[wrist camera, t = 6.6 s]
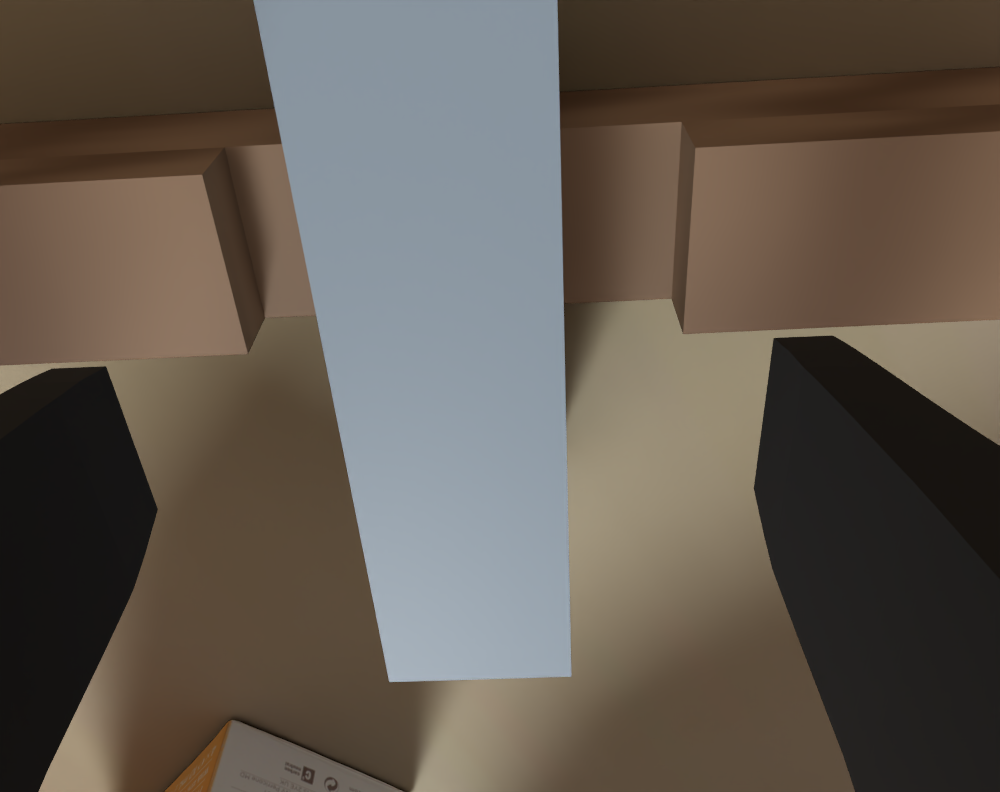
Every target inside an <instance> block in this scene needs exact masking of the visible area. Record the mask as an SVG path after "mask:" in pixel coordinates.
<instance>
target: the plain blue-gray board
mask: <svg viewBox="0 0 1000 792" xmlns="http://www.w3.org/2000/svg"><path fill="white" fill-rule="evenodd" d="M253 1H254V6H255V11H256V16H257V21H258V26H259V31H260V36H261V41H262V46H263V51H264V56H265V61H266V66H267V71H268V76H269V81H270V86H271V91H272V96H273V101H274V106H275V111H276V116H277V121H278V126H279V131H280V136H281V141H282V146H283V151H284V156H285V162H286V167H287V172H288V177H289V182H290V187H291V192H292V197H293V202H294V207H295V212H296V217H297V222H298V227H299V232H300V237H301V242H302V247H303V252H304V257H305V262H306V267H307V272H308V277H309V282H310V287H311V292H312V297H313V302H314V307H315V312H316V317H317V322H318V327H319V332H320V337H321V342H322V347H323V352H324V357H325V362H326V367H327V372H328V377H329V382H330V387H331V392H332V397H333V402H334V407H335V412H336V417H337V422H338V427H339V432H340V437H341V442H342V447H343V452H344V457H345V462H346V467H347V472H348V477H349V483H350V488H351V493H352V498H353V503H354V508H355V513H356V518H357V523H358V528H359V533H360V538H361V543H362V548H363V553H364V558H365V563H366V568H367V573H368V578H369V583H370V588H371V593H372V598H373V603H374V608H375V613H376V618H377V623H378V628H379V633H380V638H381V643H382V648H383V653H384V658H385V663H386V668H387V673H388V678H389V682H410V681H443V680H475V679H508V678H541V677H571V635H570V586H569V538H568V489H567V441H566V392H565V344H564V295H563V247H562V199H561V150H560V102H559V53H558V5H557V0H253Z"/></svg>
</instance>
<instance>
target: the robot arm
mask: <svg viewBox="0 0 1000 792" xmlns="http://www.w3.org/2000/svg"><path fill="white" fill-rule="evenodd" d="M754 491H755V496H756V500H757V505H758V509H759V514H760V519H761V523H762V528H763V532H764V536H765V540H766V545H767V549H768V553H769V557H770V561H771V565H772V569H773V572H774V574H775V577H776V580H777V583H778V585H779V588H780V591H781V593H782V596H783V599H784V601H785V604H786V607H787V609H788V612H789V615H790V617H791V620H792V623H793V625H794V628H795V631H796V633H797V636H798V639H799V641H800V644H801V646H802V649H803V652H804V654H805V657H806V659H807V662H808V665H809V667H810V670H811V672H812V675H813V678H814V680H815V683H816V685H817V688H818V691H819V693H820V696H821V699H822V701H823V704H824V706H825V709H826V712H827V714H828V717H829V719H830V722H831V725H832V727H833V730H834V732H835V735H836V738H837V740H838V743H839V745H840V748H841V751H842V753H843V756H844V759H845V762H846V765H847V768H848V771H849V774H850V777H851V780H852V783H853V786H854V789H855V792H1000V446H999V445H997V444H996V443H994V442H993V441H991V440H990V439H988V438H986V437H985V436H983V435H982V434H980V433H979V432H977V431H976V430H974V429H973V428H971V427H970V426H968V425H967V424H965V423H964V422H962V421H961V420H959V419H958V418H956V417H954V416H953V415H951V414H950V413H948V412H947V411H945V410H944V409H943V408H941V407H940V406H938V405H937V404H935V403H934V402H932V401H931V400H929V399H928V398H926V397H925V396H923V395H922V394H920V393H919V392H918V391H916V390H915V389H913V388H912V387H910V386H909V385H907V384H906V383H904V382H903V381H902V380H900V379H899V378H897V377H896V376H894V375H893V374H891V373H890V372H888V371H887V370H886V369H884V368H883V367H881V366H880V365H878V364H877V363H875V362H874V361H872V360H871V359H869V358H868V357H866V356H865V355H863V354H862V353H860V352H859V351H857V350H856V349H854V348H853V347H851V346H850V345H848V344H846V343H845V342H843V341H841V340H839V339H838V338H836V337H834V336H812V337H789V338H774V340H773V348H772V355H771V363H770V371H769V378H768V386H767V393H766V401H765V408H764V416H763V424H762V431H761V439H760V446H759V454H758V461H757V469H756V477H755V484H754ZM157 510H158V509H157V506H156V503H155V501H154V498H153V495H152V492H151V490H150V487H149V484H148V481H147V478H146V476H145V473H144V470H143V467H142V465H141V462H140V459H139V456H138V454H137V451H136V448H135V445H134V443H133V440H132V437H131V434H130V431H129V429H128V426H127V423H126V420H125V418H124V415H123V412H122V409H121V407H120V404H119V401H118V398H117V396H116V393H115V390H114V387H113V384H112V382H111V379H110V376H109V373H108V371H107V368H106V367H83V368H59V369H50V370H48V371H46V372H44V373H41V374H39V375H37V376H35V377H32V378H30V379H28V380H26V381H24V382H22V383H20V384H19V385H17V386H15V387H13V388H11V389H9V390H7V391H6V392H4V393H2V394H0V792H38V791H39V789H40V787H41V784H42V782H43V780H44V777H45V775H46V773H47V770H48V768H49V766H50V764H51V762H52V760H53V758H54V756H55V754H56V752H57V750H58V748H59V745H60V743H61V741H62V739H63V737H64V735H65V733H66V731H67V729H68V727H69V725H70V723H71V720H72V718H73V716H74V714H75V712H76V710H77V708H78V706H79V704H80V702H81V700H82V698H83V695H84V693H85V691H86V689H87V687H88V685H89V683H90V681H91V679H92V677H93V675H94V673H95V670H96V668H97V666H98V664H99V662H100V660H101V658H102V656H103V654H104V652H105V650H106V647H107V645H108V643H109V641H110V639H111V637H112V635H113V632H114V630H115V628H116V626H117V624H118V622H119V620H120V617H121V615H122V613H123V611H124V609H125V607H126V604H127V602H128V600H129V598H130V596H131V593H132V591H133V589H134V586H135V583H136V580H137V577H138V574H139V571H140V568H141V565H142V562H143V559H144V556H145V552H146V549H147V545H148V542H149V538H150V535H151V531H152V528H153V524H154V521H155V517H156V514H157Z"/></svg>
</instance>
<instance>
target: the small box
mask: <svg viewBox="0 0 1000 792" xmlns="http://www.w3.org/2000/svg"><path fill="white" fill-rule="evenodd" d="M164 792H404V791H401V790H399V789H397V788H394V787H393V786H391V785H388V784H386V783H384V782H382V781H379V780H377V779H374V778H372V777H370V776H367V775H365V774H363V773H361V772H359V771H356V770H354V769H352V768H349V767H347V766H344V765H342V764H340V763H337V762H335V761H332V760H330V759H328V758H325V757H323V756H321V755H319V754H317V753H314V752H312V751H310V750H307V749H305V748H303V747H300V746H298V745H295V744H293V743H291V742H288V741H286V740H283V739H280V738H278V737H275V736H273V735H271V734H268V733H266V732H264V731H261V730H259V729H256V728H254V727H251V726H248V725H246V724H244V723H242V722H239V721H235V720H230V721H229V722H227V723H226V725H225V726H224V727H223V728H222V730H221V731H220V732H219V733H218V735H217V736H216V737H215V738H214V739H213V741H212V742H211V743H210V744H209V745H208V746H207V747H206V748H205V749H204V750H203V751H202V753H201V754H200V755H199V756H198V757H197V758H196V759H195V760H194V761H193V762H192V763H191V764H190V765H189V766H188V768H187V769H186V770H185V771H184V772H183V773H182V774H181V775H180V776H179V777H178V778H177V779H176V780H175V781H174V782H173V783H172V784H171V785H170V786H169V787H168V788H167V789H166V790H165V791H164Z"/></svg>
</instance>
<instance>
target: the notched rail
mask: <svg viewBox="0 0 1000 792" xmlns="http://www.w3.org/2000/svg"><path fill="white" fill-rule="evenodd" d="M559 102H560V150H561V199H562V247H563V295H564V304H568V303H589V302H610V301H631V300H652V299H672V301H673V304H674V307H675V311H676V314H677V317H678V320H679V323H680V326H681V329H682V332H683V334H694V333H715V332H737V331H759V330H781V329H802V328H824V327H846V326H868V325H889V324H911V323H933V322H955V321H976V320H998V319H1000V67H990V68H973V69H955V70H938V71H920V72H903V73H885V74H868V75H850V76H833V77H815V78H798V79H780V80H763V81H745V82H728V83H710V84H693V85H675V86H658V87H640V88H623V89H605V90H588V91H570V92H559ZM315 315H316V312H315V307H314V302H313V297H312V292H311V287H310V282H309V277H308V272H307V267H306V262H305V257H304V252H303V247H302V242H301V237H300V232H299V227H298V222H297V217H296V212H295V207H294V202H293V197H292V192H291V187H290V182H289V177H288V172H287V167H286V162H285V156H284V151H283V146H282V141H281V136H280V131H279V126H278V121H277V116H276V111H275V108H273V109H255V110H238V111H220V112H203V113H185V114H168V115H150V116H133V117H115V118H98V119H80V120H63V121H45V122H28V123H10V124H0V365H20V364H41V363H63V362H85V361H107V360H128V359H150V358H172V357H194V356H215V355H237V354H248V353H249V351H250V348H251V346H252V344H253V342H254V340H255V338H256V336H257V334H258V331H259V329H260V327H261V325H262V323H263V321H264V319H265V318H273V317H294V316H315Z"/></svg>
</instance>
